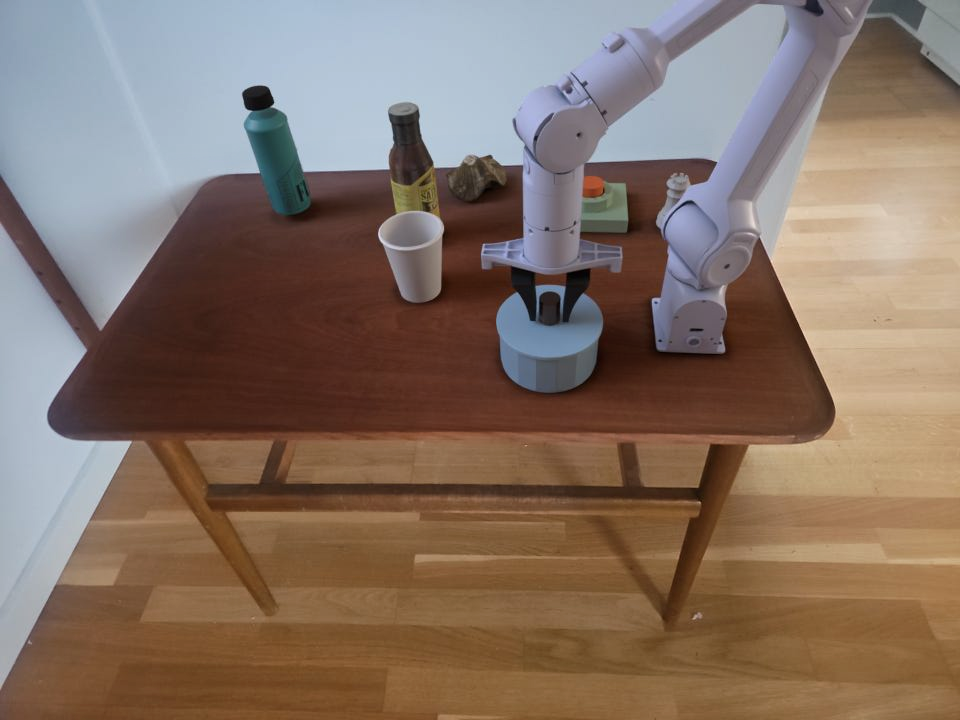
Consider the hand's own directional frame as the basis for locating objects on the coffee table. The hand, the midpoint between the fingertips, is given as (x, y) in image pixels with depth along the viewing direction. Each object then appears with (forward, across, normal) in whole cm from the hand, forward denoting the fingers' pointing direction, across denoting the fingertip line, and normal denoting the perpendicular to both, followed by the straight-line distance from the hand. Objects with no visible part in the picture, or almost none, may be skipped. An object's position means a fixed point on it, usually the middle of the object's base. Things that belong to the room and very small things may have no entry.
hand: (549, 315), depth 74 cm
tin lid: (+1, 0, 0) cm, 1 cm away
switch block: (+7, -5, -31) cm, 32 cm away
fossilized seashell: (+7, +13, -37) cm, 40 cm away
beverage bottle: (+7, +42, -30) cm, 52 cm away
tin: (+7, 0, 0) cm, 7 cm away
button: (+3, -5, -31) cm, 32 cm away
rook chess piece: (+7, -17, -28) cm, 34 cm away
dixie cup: (+7, +18, -12) cm, 23 cm away
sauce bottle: (+7, +20, -24) cm, 32 cm away
